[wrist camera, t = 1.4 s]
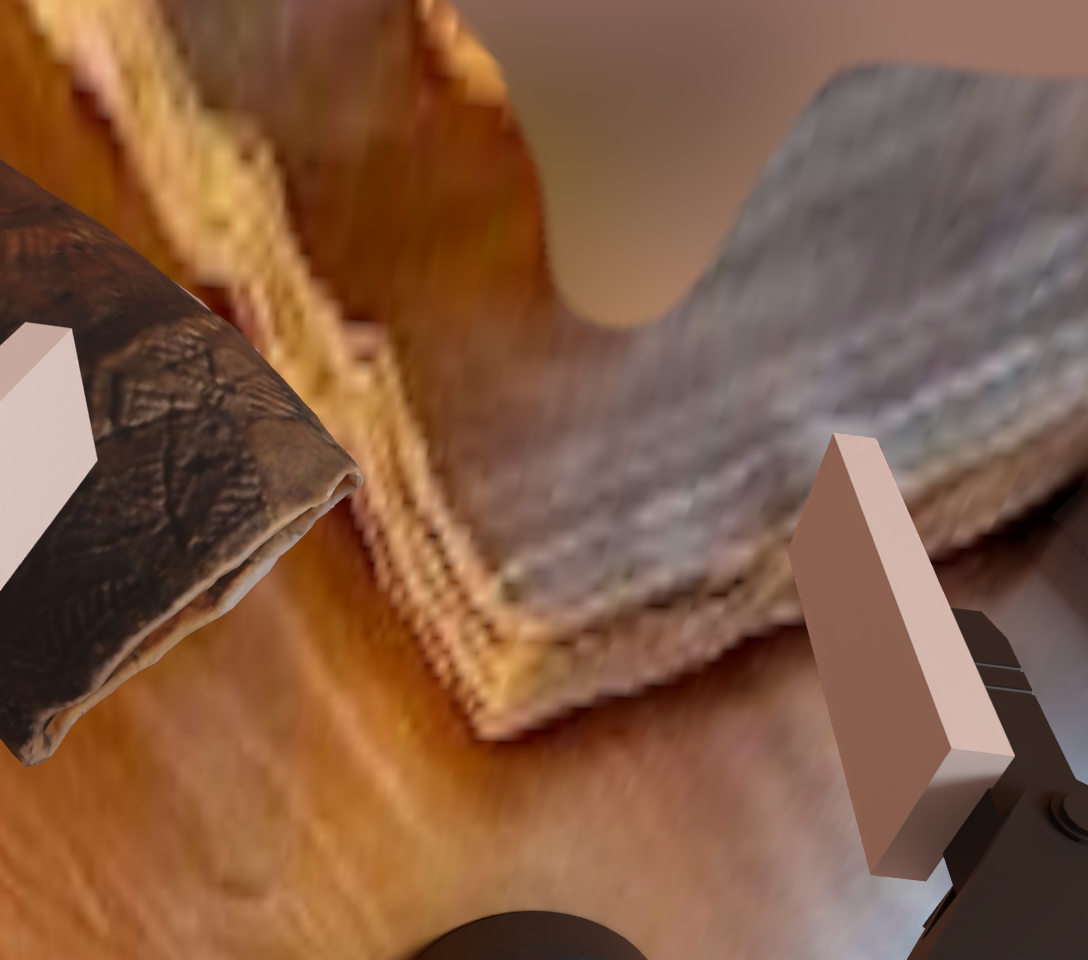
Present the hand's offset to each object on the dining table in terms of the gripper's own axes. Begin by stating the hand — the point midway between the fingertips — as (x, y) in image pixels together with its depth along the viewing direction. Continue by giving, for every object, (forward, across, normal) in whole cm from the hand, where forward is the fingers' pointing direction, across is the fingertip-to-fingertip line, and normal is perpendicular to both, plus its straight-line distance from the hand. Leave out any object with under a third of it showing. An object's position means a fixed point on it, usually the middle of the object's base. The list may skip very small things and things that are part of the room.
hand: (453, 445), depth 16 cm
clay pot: (+20, +18, +11) cm, 29 cm away
